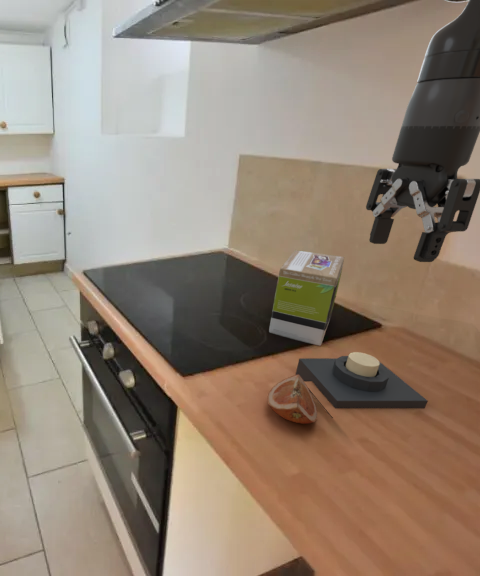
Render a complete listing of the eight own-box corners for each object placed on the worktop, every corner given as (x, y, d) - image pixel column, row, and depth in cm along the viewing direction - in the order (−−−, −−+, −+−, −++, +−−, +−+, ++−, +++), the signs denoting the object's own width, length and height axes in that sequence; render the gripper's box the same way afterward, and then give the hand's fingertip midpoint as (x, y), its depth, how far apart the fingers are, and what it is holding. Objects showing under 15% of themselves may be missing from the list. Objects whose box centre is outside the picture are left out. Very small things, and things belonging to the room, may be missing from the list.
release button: (364, 362, 61) (368, 351, 60) (382, 377, 57) (386, 366, 56) (339, 362, 61) (343, 351, 60) (355, 377, 57) (359, 366, 56)
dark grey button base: (370, 373, 66) (378, 349, 64) (420, 418, 55) (432, 390, 54) (295, 374, 66) (301, 349, 64) (332, 418, 55) (340, 390, 54)
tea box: (282, 308, 90) (294, 248, 84) (330, 319, 85) (347, 256, 79) (266, 333, 79) (279, 266, 73) (321, 348, 73) (340, 276, 68)
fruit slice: (315, 443, 51) (323, 413, 49) (261, 426, 54) (267, 398, 52) (315, 406, 58) (322, 379, 56) (267, 393, 61) (273, 367, 59)
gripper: (533, 122, 40) (472, 269, 46) (424, 125, 53) (388, 238, 59) (461, 122, 40) (410, 268, 46) (370, 124, 53) (340, 237, 59)
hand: (398, 251), depth 52 cm, fingers open, 8 cm apart
